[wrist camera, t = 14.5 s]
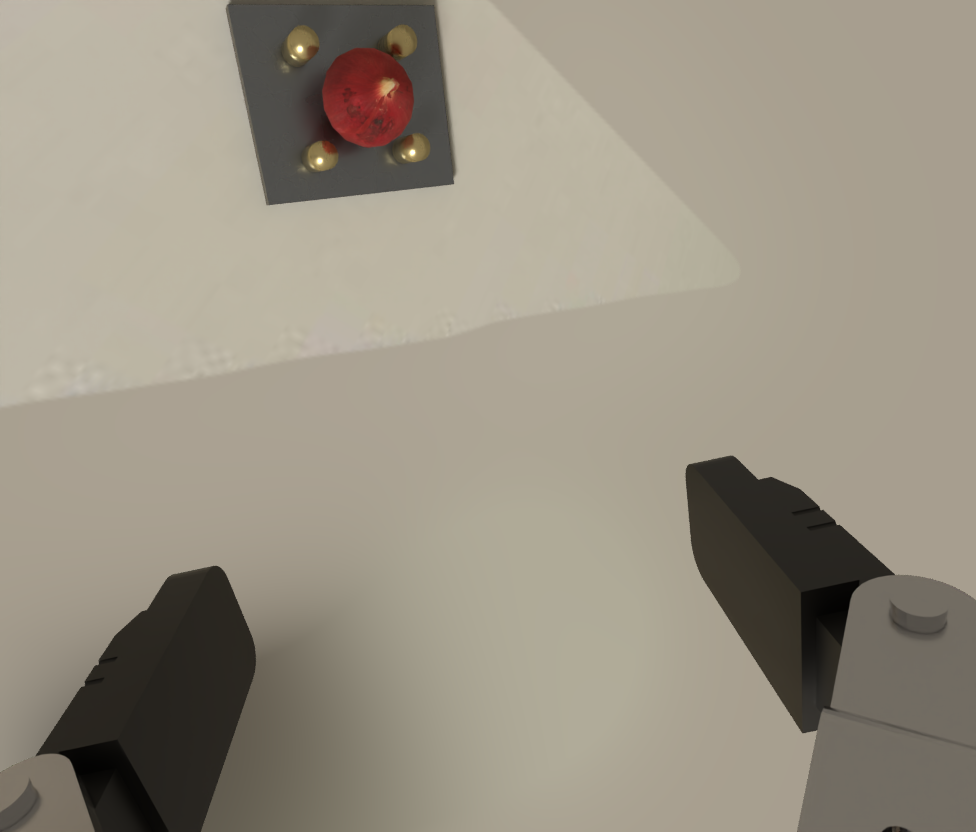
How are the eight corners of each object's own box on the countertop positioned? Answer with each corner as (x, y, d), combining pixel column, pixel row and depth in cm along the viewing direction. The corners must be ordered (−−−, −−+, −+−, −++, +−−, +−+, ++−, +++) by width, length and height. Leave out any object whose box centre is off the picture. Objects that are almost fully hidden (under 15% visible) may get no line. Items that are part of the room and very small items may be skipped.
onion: (382, 162, 48) (422, 154, 41) (303, 135, 45) (332, 121, 38) (400, 79, 47) (444, 56, 40) (321, 45, 44) (353, 15, 37)
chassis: (266, 205, 46) (276, 204, 42) (225, 8, 42) (232, -10, 38) (448, 184, 51) (470, 182, 48) (428, 9, 47) (450, -7, 44)
